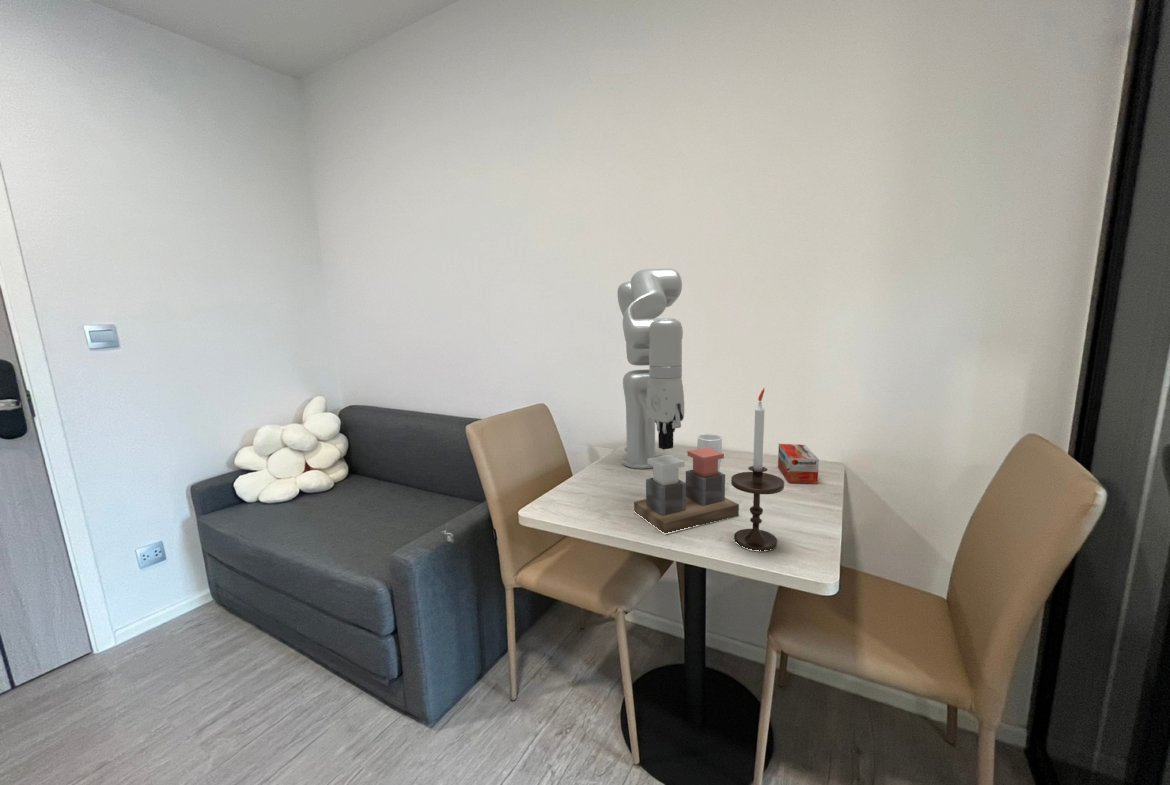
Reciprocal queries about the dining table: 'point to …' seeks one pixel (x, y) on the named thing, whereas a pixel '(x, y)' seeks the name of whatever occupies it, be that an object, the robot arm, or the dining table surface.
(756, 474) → the candlestick
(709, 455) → the red plunger
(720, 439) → the drinking glass
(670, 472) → the grey plunger
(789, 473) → the medicine box
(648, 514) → the board
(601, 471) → the dining table surface
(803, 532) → the dining table surface
